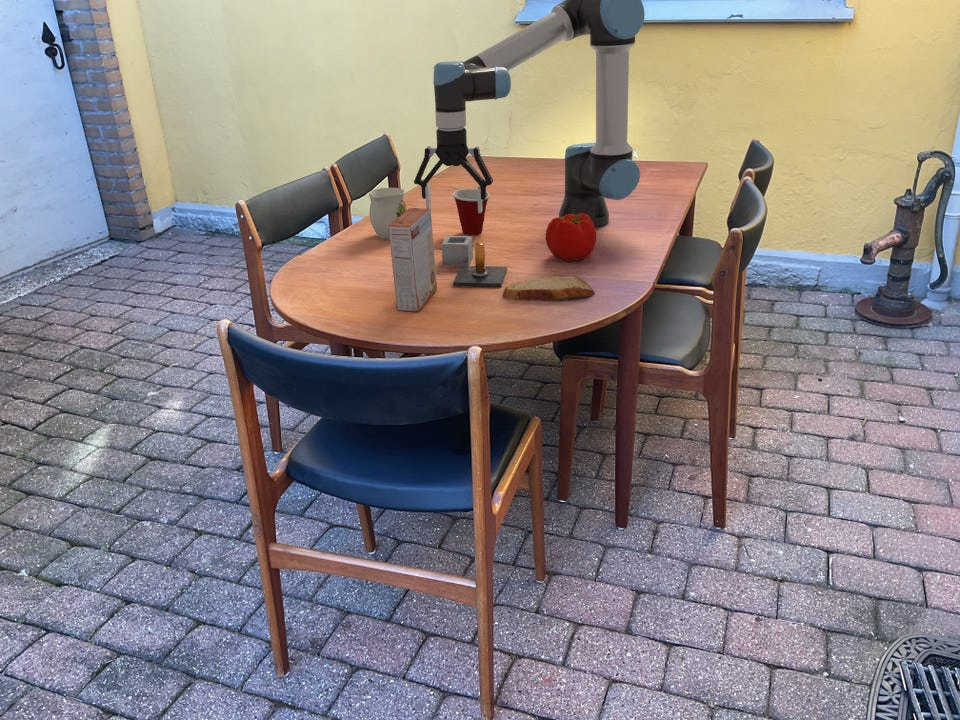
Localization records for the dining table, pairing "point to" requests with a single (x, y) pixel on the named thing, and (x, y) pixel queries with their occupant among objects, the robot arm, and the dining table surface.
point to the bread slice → (549, 289)
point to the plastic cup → (470, 210)
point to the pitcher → (386, 209)
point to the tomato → (571, 236)
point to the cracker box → (413, 259)
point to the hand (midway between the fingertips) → (454, 211)
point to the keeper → (480, 272)
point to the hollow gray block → (457, 251)
